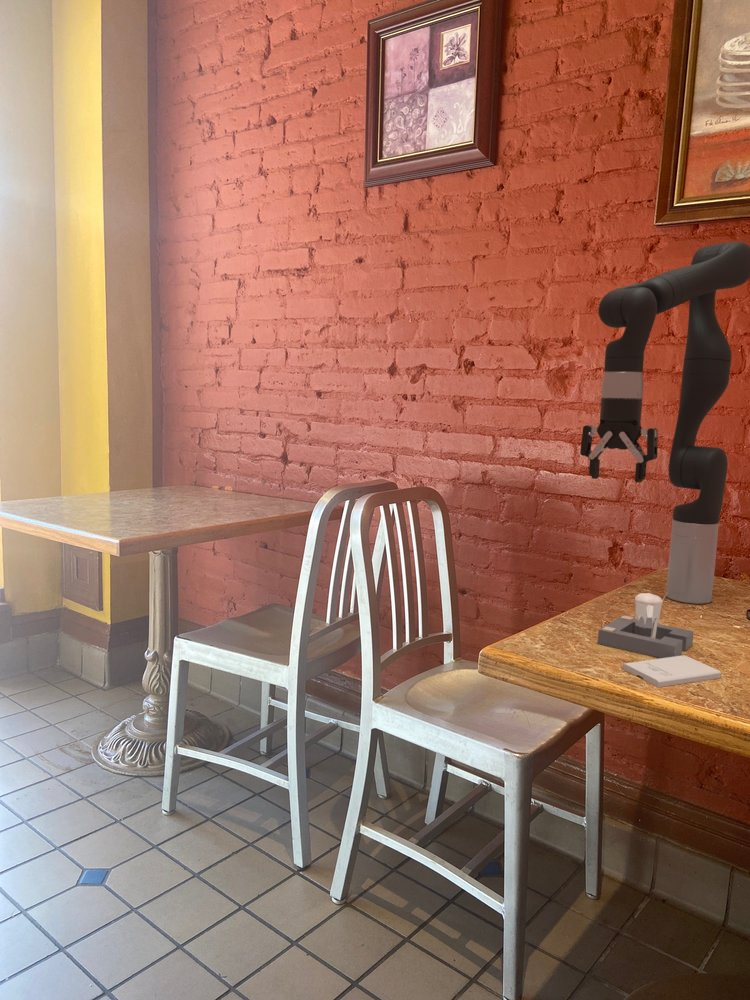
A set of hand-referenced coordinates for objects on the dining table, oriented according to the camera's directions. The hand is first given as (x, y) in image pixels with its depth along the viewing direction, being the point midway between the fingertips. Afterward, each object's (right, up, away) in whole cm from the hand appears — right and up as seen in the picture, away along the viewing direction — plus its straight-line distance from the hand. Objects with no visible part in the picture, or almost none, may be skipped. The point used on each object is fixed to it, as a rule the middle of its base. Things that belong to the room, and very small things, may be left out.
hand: (616, 480), depth 146 cm
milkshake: (+1, -30, -14) cm, 33 cm away
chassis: (+1, -29, -14) cm, 32 cm away
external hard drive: (0, -32, -27) cm, 42 cm away
